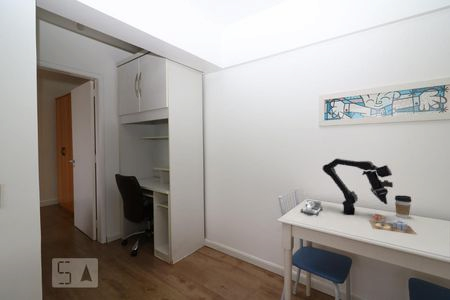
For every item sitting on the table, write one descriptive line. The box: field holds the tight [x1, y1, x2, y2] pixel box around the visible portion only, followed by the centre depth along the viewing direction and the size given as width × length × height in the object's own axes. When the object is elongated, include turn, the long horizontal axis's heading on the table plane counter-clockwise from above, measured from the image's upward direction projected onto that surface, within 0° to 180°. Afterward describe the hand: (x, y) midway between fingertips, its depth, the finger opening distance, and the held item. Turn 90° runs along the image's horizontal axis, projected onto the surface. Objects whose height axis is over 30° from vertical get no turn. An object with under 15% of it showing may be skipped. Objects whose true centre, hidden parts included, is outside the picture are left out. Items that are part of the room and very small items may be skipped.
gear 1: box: [371, 213, 386, 222], centre depth 135 cm, size 6×6×4 cm
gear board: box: [368, 218, 418, 236], centre depth 122 cm, size 20×13×6 cm, turn 64°
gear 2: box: [392, 219, 408, 231], centre depth 121 cm, size 6×6×4 cm
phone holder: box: [300, 198, 323, 217], centre depth 153 cm, size 18×10×12 cm
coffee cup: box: [394, 195, 412, 219], centre depth 138 cm, size 8×8×15 cm
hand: (384, 203), depth 134 cm, fingers open, 9 cm apart
